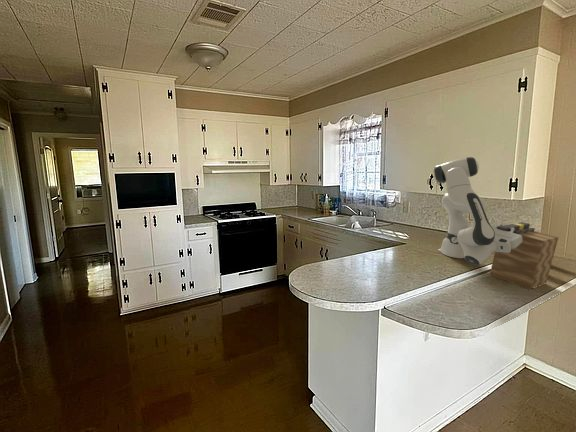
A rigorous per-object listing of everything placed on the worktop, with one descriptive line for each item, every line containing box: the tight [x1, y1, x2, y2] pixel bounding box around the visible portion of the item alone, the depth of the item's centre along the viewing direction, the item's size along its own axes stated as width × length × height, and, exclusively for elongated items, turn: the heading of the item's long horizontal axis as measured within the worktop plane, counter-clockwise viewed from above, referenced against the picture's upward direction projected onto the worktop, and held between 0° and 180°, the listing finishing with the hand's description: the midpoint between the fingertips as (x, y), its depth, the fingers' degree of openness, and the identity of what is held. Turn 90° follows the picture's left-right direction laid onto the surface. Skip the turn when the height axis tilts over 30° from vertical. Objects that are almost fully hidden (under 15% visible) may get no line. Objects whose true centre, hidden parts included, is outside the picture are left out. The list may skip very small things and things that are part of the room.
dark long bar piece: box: [497, 221, 531, 233], centre depth 169 cm, size 24×4×4 cm, turn 119°
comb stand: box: [489, 227, 559, 290], centre depth 170 cm, size 16×20×28 cm
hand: (507, 226), depth 165 cm, fingers open, 4 cm apart
